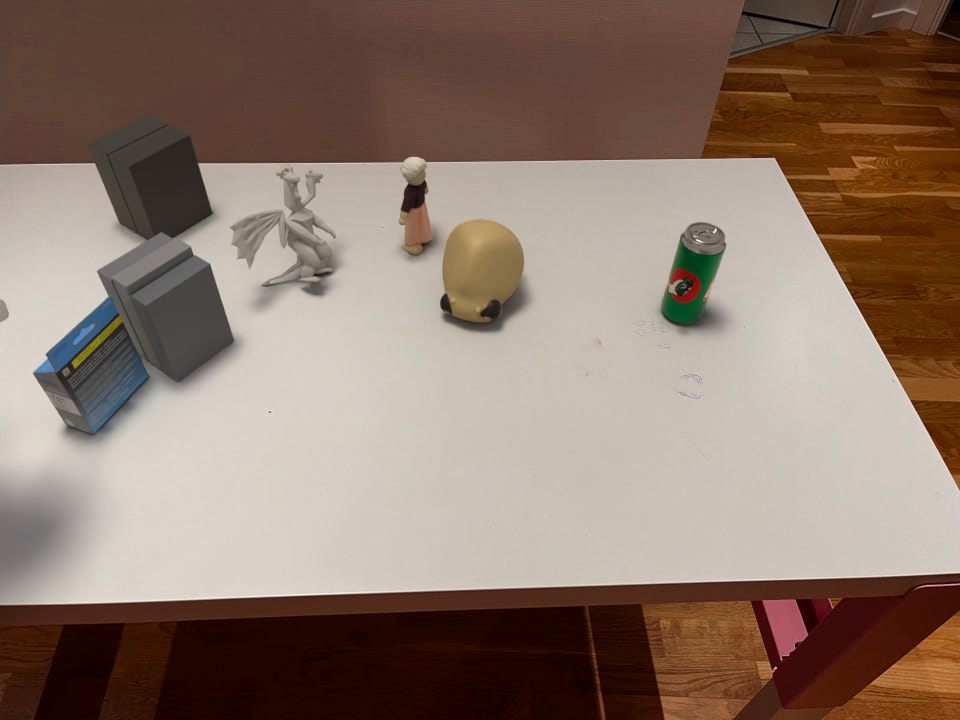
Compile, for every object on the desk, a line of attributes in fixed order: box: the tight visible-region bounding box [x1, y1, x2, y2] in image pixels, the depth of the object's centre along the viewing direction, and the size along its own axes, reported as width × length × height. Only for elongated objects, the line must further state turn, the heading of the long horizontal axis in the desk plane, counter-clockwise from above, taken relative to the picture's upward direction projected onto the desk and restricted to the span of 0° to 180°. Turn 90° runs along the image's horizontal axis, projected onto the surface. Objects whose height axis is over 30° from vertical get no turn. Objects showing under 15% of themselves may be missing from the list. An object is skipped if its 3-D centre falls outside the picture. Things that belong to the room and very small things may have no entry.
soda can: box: [660, 221, 727, 325], centre depth 86 cm, size 5×5×12 cm
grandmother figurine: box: [398, 156, 433, 256], centre depth 94 cm, size 8×4×13 cm, turn 171°
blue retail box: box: [32, 295, 150, 435], centre depth 74 cm, size 9×4×12 cm, turn 159°
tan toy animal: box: [439, 219, 525, 323], centre depth 88 cm, size 10×12×11 cm
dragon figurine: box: [228, 163, 337, 286], centre depth 90 cm, size 10×18×14 cm, turn 168°
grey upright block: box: [96, 232, 235, 383], centre depth 80 cm, size 8×8×12 cm
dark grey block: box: [86, 113, 214, 241], centre depth 96 cm, size 8×9×12 cm
